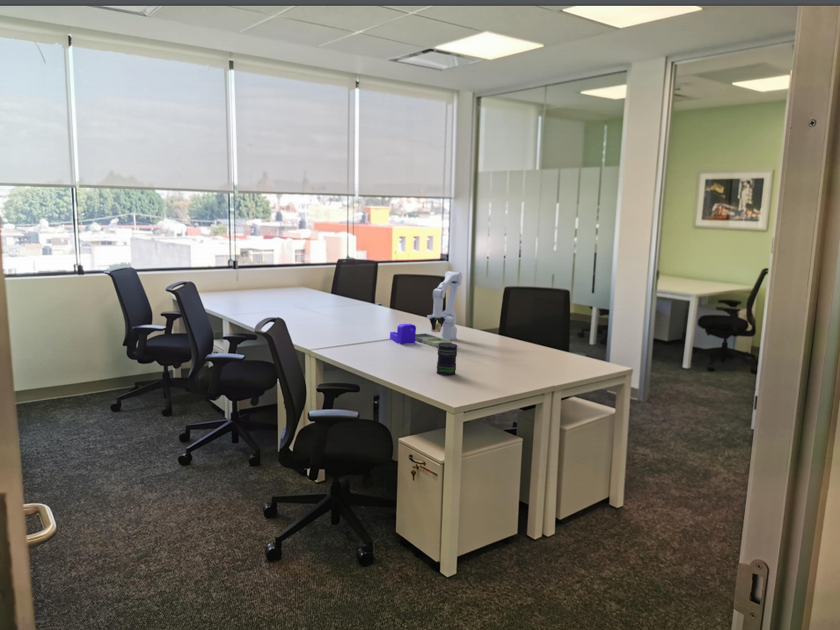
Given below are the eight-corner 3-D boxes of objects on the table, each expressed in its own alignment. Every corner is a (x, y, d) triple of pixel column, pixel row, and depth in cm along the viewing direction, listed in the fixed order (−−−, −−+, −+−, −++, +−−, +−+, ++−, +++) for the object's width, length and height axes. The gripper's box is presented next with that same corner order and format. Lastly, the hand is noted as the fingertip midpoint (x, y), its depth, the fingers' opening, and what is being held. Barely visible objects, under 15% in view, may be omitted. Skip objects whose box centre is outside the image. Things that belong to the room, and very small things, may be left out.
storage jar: (435, 370, 324) (437, 342, 321) (454, 371, 325) (456, 343, 322) (437, 375, 314) (439, 346, 312) (456, 376, 315) (458, 347, 312)
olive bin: (438, 341, 400) (439, 337, 400) (452, 345, 390) (452, 341, 390) (421, 342, 392) (421, 338, 392) (434, 346, 382) (434, 342, 381)
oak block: (436, 330, 394) (436, 323, 393) (440, 332, 391) (440, 324, 390) (431, 331, 392) (431, 323, 391) (435, 332, 388) (435, 324, 388)
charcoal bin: (425, 337, 411) (425, 333, 411) (437, 340, 401) (438, 337, 401) (408, 338, 403) (408, 334, 402) (420, 342, 393) (420, 338, 392)
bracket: (415, 343, 390) (416, 324, 388) (400, 344, 384) (402, 325, 382) (397, 337, 404) (398, 319, 402) (384, 339, 397) (385, 320, 396)
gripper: (442, 306, 396) (441, 327, 398) (424, 307, 387) (423, 329, 389) (450, 308, 390) (448, 329, 393) (431, 309, 382) (430, 331, 384)
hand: (436, 329), depth 391 cm, fingers closed on oak block, 4 cm apart
